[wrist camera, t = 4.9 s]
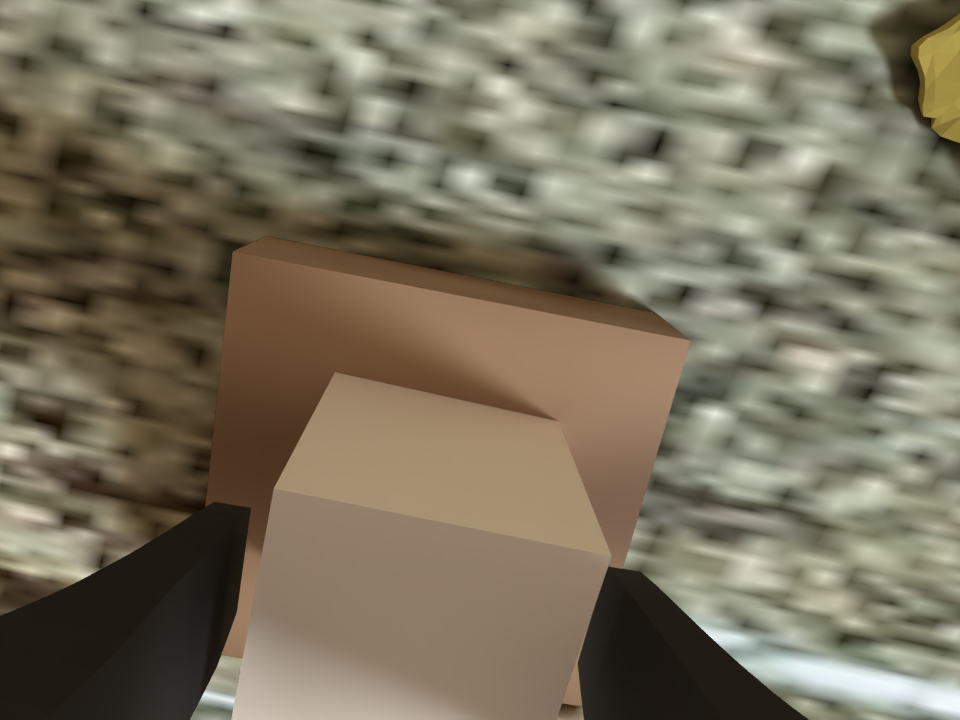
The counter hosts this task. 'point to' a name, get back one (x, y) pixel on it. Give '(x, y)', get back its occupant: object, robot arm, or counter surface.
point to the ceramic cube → (421, 565)
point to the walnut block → (431, 374)
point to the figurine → (940, 78)
